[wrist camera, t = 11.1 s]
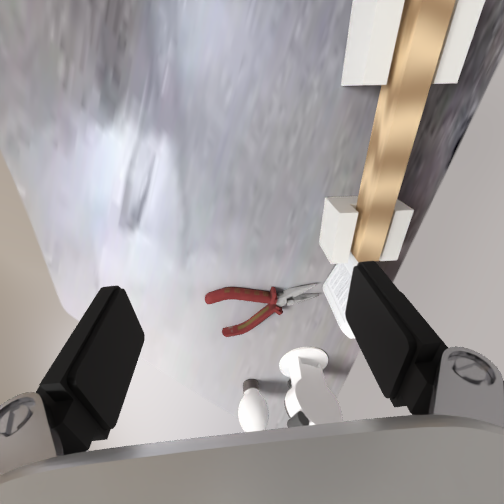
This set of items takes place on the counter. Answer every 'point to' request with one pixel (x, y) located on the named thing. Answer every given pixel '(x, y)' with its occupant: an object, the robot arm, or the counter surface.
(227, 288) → the pliers
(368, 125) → the counter surface
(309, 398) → the panda figurine
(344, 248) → the end caps
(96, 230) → the counter surface
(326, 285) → the photo printer
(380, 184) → the slat
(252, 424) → the light bulb
